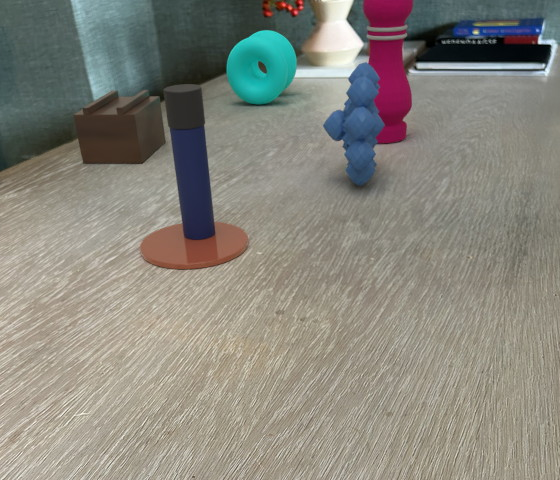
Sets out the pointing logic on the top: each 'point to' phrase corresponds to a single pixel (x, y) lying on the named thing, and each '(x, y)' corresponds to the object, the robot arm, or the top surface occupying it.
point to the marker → (190, 159)
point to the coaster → (193, 247)
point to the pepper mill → (389, 64)
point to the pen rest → (120, 128)
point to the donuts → (250, 78)
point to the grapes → (358, 124)
